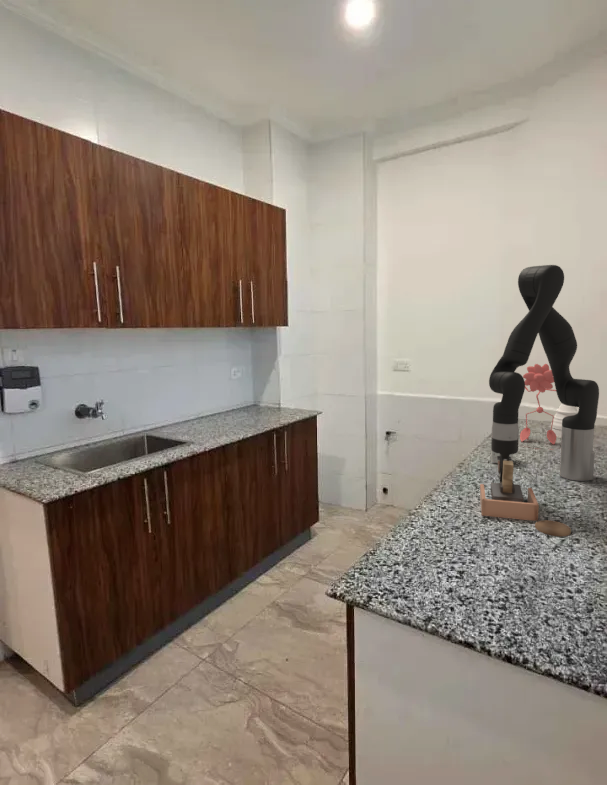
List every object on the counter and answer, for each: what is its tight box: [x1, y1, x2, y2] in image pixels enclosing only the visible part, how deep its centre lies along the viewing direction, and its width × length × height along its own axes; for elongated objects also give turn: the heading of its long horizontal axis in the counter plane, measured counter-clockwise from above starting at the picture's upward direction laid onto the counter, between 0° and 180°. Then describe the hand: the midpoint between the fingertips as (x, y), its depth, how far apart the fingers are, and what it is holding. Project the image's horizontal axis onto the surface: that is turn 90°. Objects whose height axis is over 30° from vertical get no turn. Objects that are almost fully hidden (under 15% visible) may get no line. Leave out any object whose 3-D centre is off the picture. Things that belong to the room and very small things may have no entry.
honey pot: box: [550, 403, 579, 439], centre depth 205 cm, size 13×13×18 cm
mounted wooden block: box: [490, 460, 525, 502], centre depth 131 cm, size 8×8×12 cm
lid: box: [534, 519, 572, 537], centre depth 114 cm, size 8×8×1 cm
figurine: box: [519, 363, 561, 451], centre depth 190 cm, size 15×26×35 cm, turn 54°
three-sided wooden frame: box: [479, 483, 540, 522], centre depth 127 cm, size 14×13×4 cm
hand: (503, 490), depth 138 cm, fingers closed
